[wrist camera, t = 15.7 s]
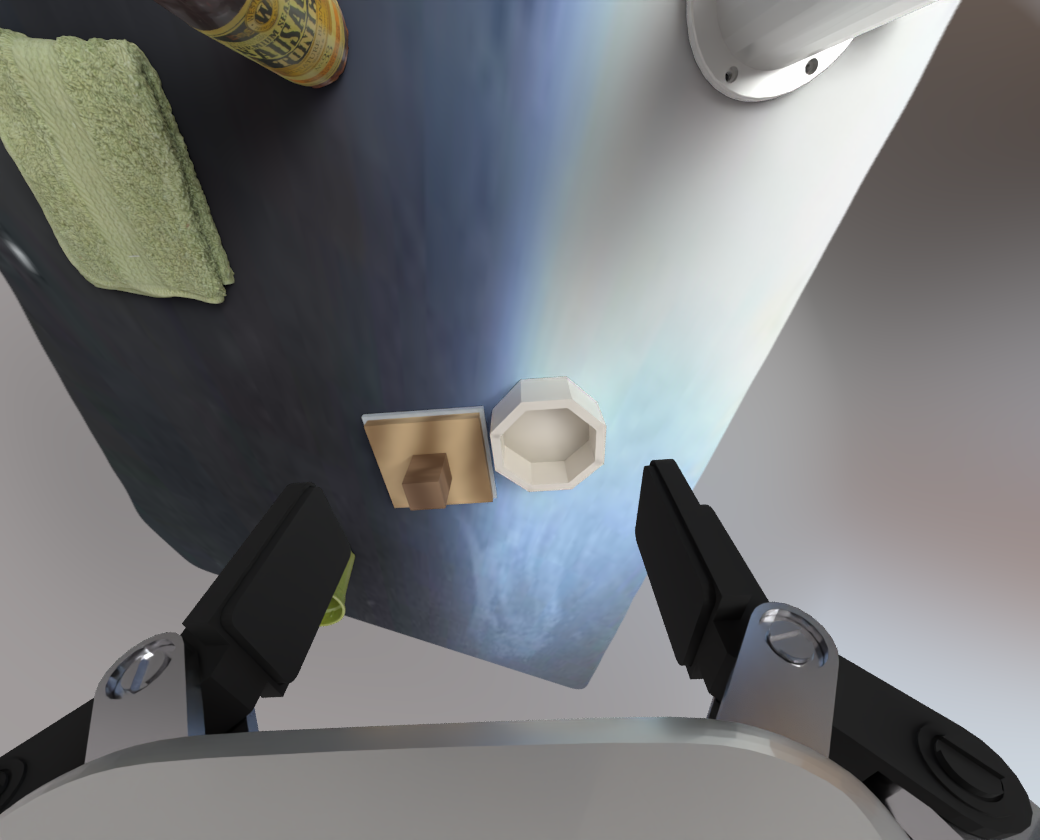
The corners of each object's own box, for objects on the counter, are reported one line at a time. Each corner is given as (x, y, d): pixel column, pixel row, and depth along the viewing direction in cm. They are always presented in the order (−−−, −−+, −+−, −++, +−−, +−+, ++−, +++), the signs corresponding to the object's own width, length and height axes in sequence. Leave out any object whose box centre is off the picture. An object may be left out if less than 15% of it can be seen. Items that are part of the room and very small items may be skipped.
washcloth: (105, 287, 35) (71, 296, 32) (-30, 25, 25) (-95, 6, 23) (247, 299, 36) (225, 309, 33) (168, 48, 26) (128, 32, 23)
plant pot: (310, 523, 52) (277, 578, 45) (374, 545, 55) (353, 600, 47) (296, 559, 56) (263, 615, 49) (356, 578, 59) (333, 633, 52)
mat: (483, 406, 42) (482, 408, 41) (496, 494, 49) (496, 497, 49) (363, 414, 42) (361, 417, 42) (395, 501, 50) (393, 504, 49)
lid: (479, 412, 41) (474, 445, 36) (493, 495, 48) (490, 532, 43) (367, 420, 42) (346, 453, 37) (396, 501, 49) (382, 539, 44)
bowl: (598, 373, 40) (608, 396, 35) (594, 459, 46) (602, 487, 42) (488, 381, 40) (485, 404, 36) (500, 465, 47) (498, 493, 42)
